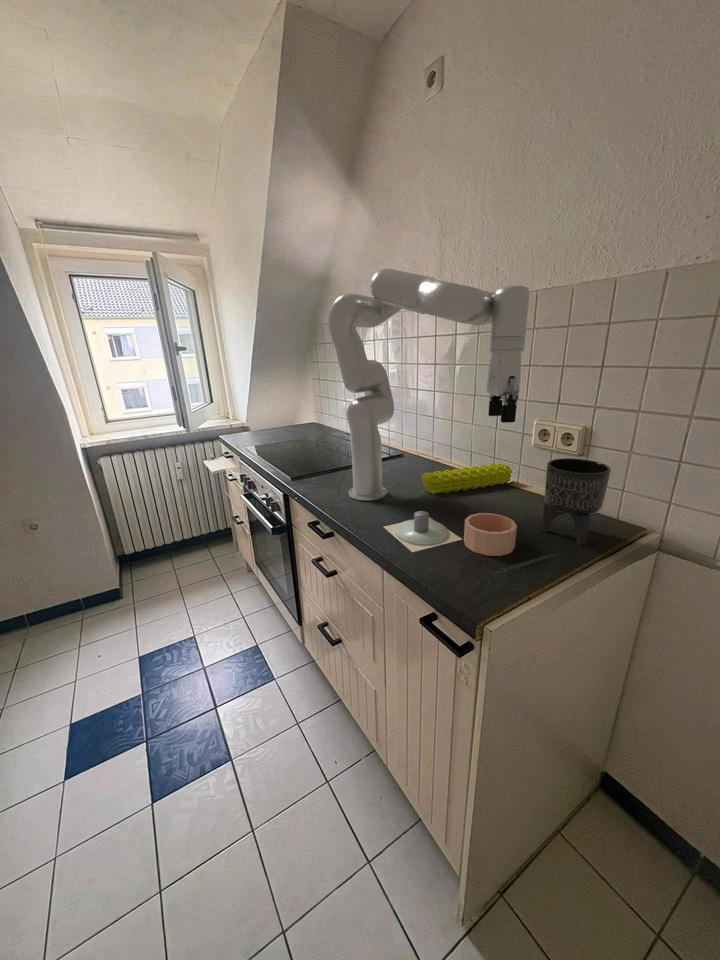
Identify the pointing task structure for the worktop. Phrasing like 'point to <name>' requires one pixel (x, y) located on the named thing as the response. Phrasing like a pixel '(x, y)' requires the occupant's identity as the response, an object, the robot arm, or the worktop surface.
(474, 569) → the worktop surface
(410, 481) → the worktop surface
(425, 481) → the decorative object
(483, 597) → the worktop surface
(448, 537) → the mat
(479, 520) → the bowl
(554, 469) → the planter
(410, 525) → the lid
